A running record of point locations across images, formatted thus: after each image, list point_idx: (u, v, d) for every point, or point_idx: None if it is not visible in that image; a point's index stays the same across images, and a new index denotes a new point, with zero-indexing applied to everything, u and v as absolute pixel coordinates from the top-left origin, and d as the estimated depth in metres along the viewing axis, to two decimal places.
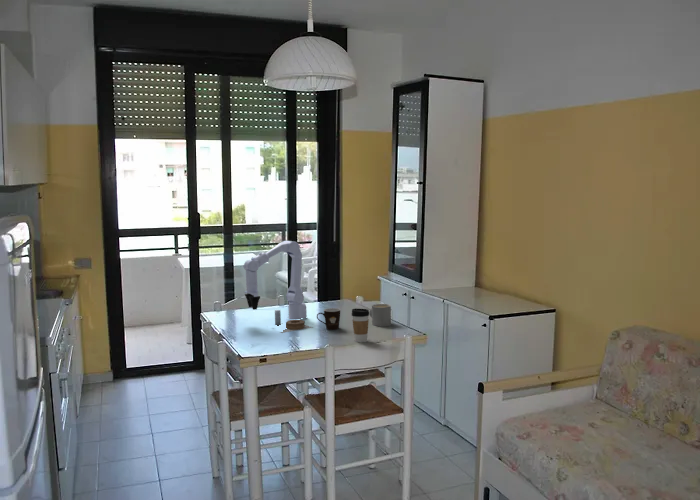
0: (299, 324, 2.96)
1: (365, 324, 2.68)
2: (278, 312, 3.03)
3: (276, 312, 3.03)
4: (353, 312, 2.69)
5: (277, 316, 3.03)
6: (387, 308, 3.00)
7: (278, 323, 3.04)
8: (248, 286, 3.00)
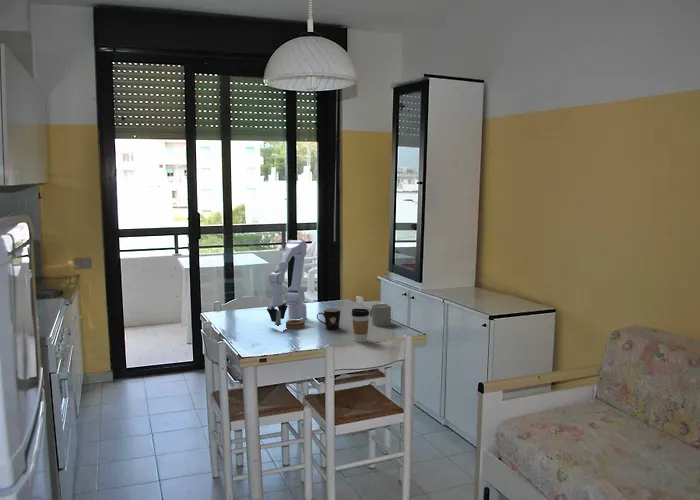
0: (299, 324, 2.96)
1: (365, 324, 2.68)
2: (278, 312, 3.03)
3: None
4: (353, 312, 2.69)
5: (277, 316, 3.03)
6: (387, 308, 3.00)
7: (278, 323, 3.04)
8: None
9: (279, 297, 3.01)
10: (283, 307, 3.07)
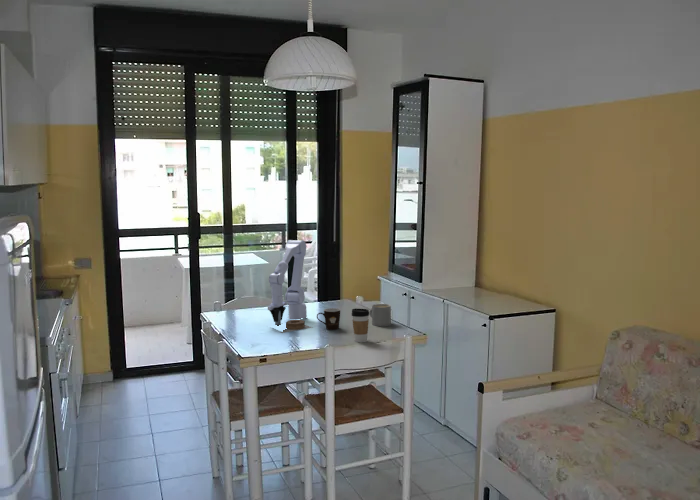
0: (299, 324, 2.96)
1: (365, 324, 2.68)
2: None
3: None
4: (353, 312, 2.69)
5: None
6: (387, 308, 3.00)
7: (278, 323, 3.04)
8: None
9: (279, 298, 3.02)
10: (281, 309, 3.05)
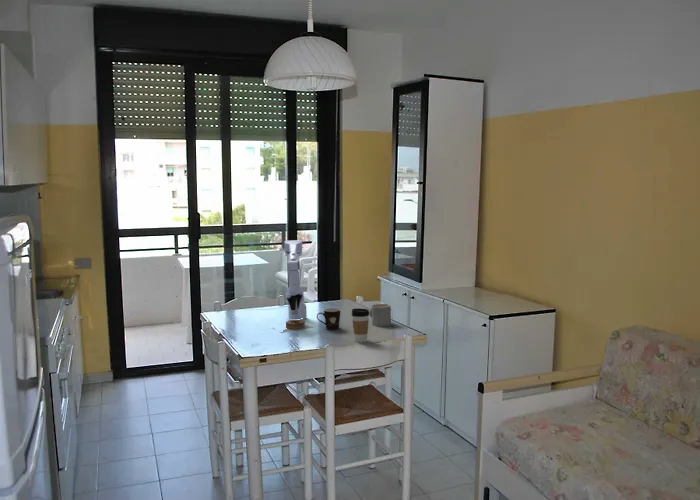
0: (299, 324, 2.96)
1: (365, 324, 2.68)
2: None
3: None
4: (353, 312, 2.69)
5: None
6: (387, 308, 3.00)
7: (295, 312, 2.98)
8: None
9: (297, 286, 2.95)
10: (298, 297, 2.99)
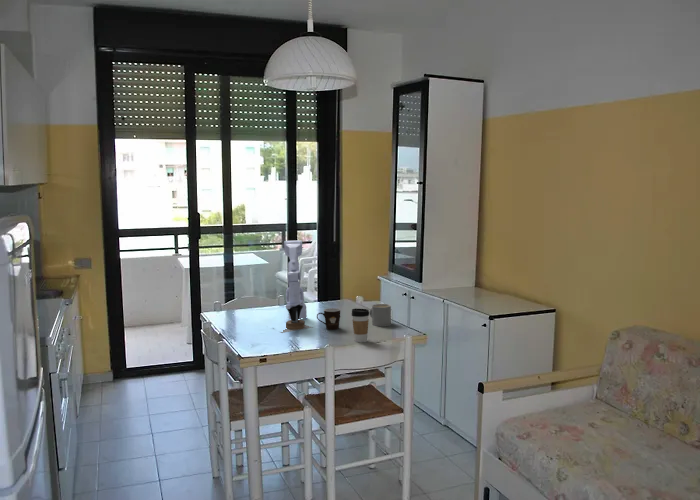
0: (299, 324, 2.96)
1: (365, 324, 2.68)
2: None
3: None
4: (353, 312, 2.69)
5: None
6: (387, 308, 3.00)
7: (295, 322, 2.98)
8: (289, 297, 2.98)
9: (297, 296, 2.96)
10: (298, 307, 3.00)
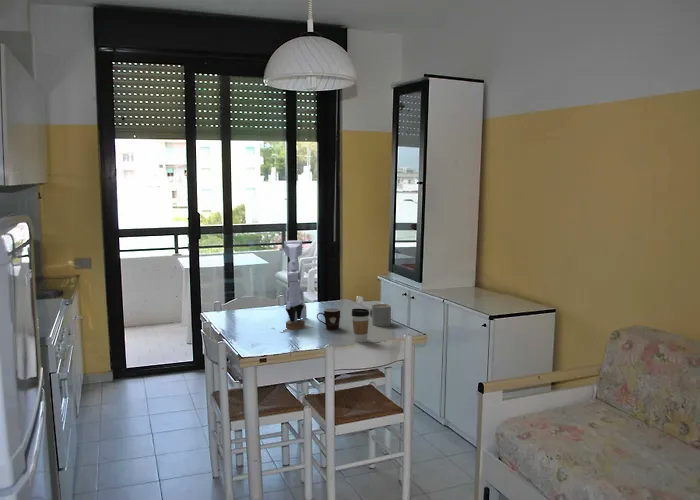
0: (299, 324, 2.96)
1: (365, 324, 2.68)
2: (295, 313, 2.98)
3: None
4: (353, 312, 2.69)
5: None
6: (387, 308, 3.00)
7: None
8: (289, 297, 2.98)
9: (297, 296, 2.96)
10: (299, 307, 3.01)
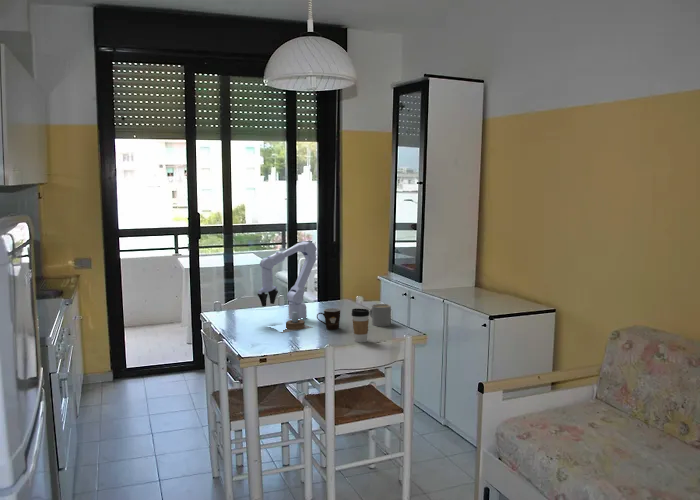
0: (299, 324, 2.96)
1: (365, 324, 2.68)
2: (296, 314, 2.98)
3: (293, 314, 2.98)
4: (353, 312, 2.69)
5: (295, 318, 2.98)
6: (387, 308, 3.00)
7: None
8: (262, 283, 3.10)
9: (269, 282, 3.08)
10: (273, 292, 3.14)
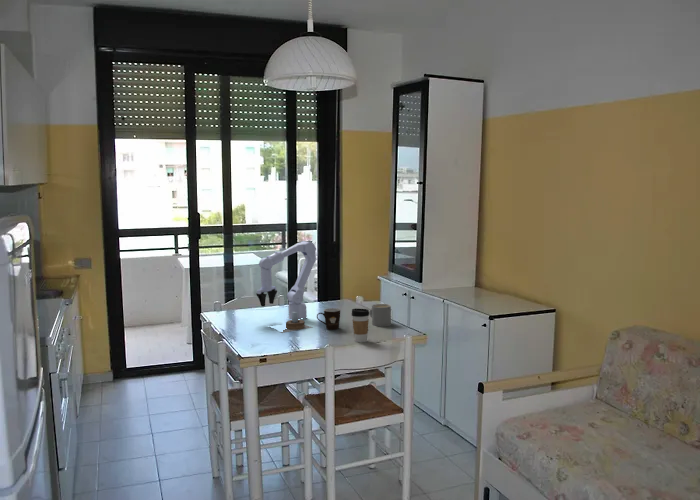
0: (299, 324, 2.96)
1: (365, 324, 2.68)
2: (296, 314, 2.98)
3: (294, 314, 2.98)
4: (353, 312, 2.69)
5: (295, 318, 2.98)
6: (387, 308, 3.00)
7: None
8: (261, 283, 3.10)
9: (268, 282, 3.08)
10: (272, 292, 3.14)
